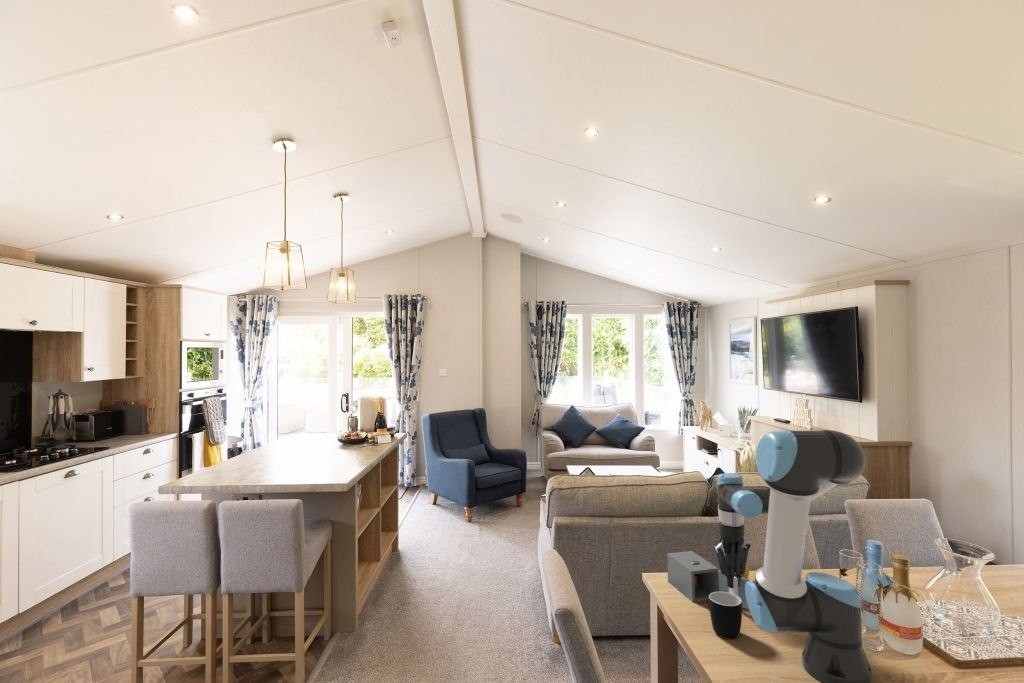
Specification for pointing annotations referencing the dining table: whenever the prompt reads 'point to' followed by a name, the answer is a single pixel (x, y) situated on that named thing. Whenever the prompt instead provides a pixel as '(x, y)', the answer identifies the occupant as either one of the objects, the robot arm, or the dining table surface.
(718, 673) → the dining table surface
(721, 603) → the mug
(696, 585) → the case
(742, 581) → the door
